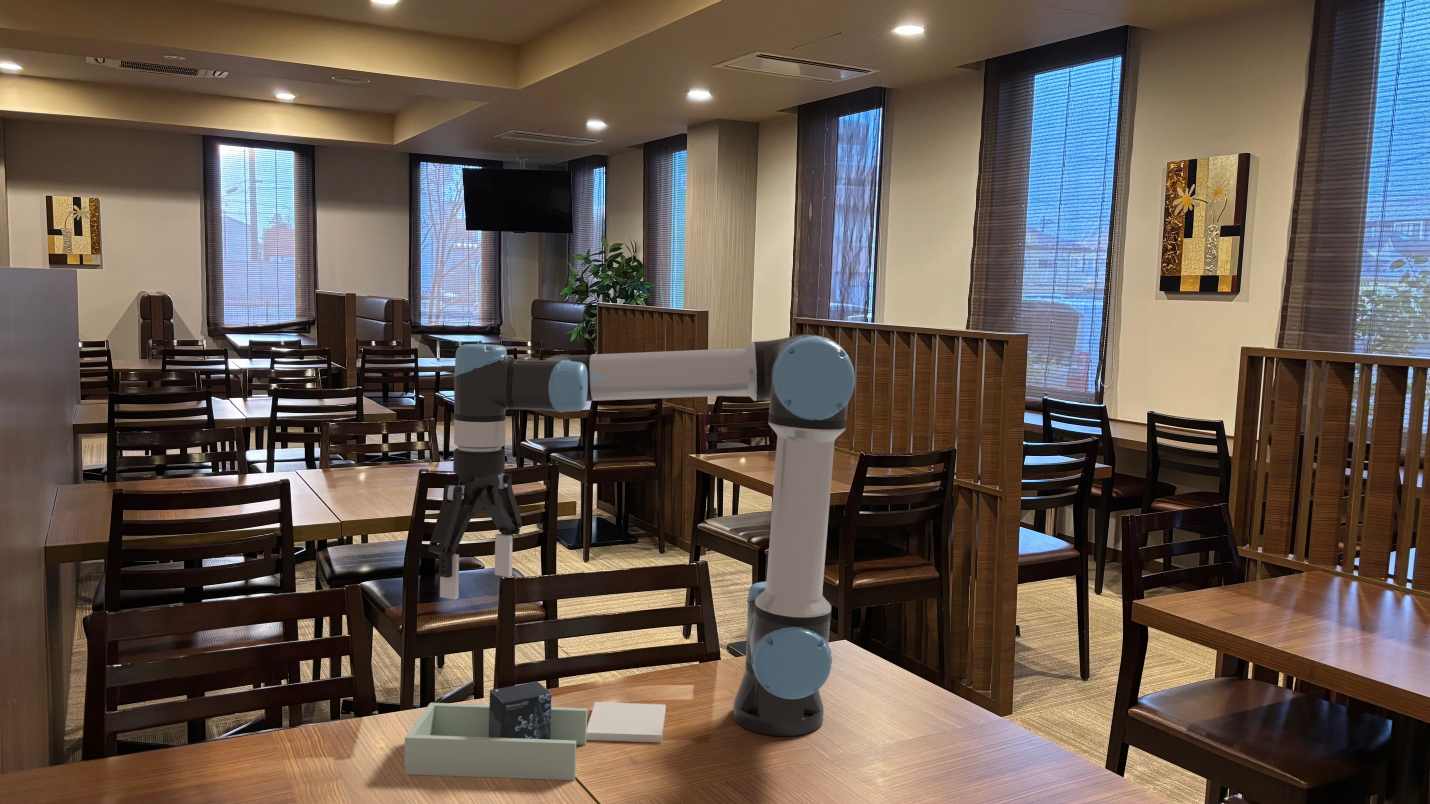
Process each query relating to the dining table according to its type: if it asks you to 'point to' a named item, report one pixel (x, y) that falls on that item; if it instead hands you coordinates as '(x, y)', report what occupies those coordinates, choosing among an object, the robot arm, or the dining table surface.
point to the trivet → (626, 722)
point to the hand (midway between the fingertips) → (477, 586)
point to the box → (520, 712)
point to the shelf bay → (491, 745)
